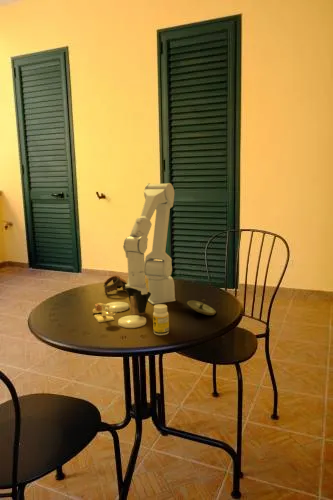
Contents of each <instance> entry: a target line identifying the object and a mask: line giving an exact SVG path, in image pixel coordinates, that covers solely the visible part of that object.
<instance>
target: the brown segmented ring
mask: <svg viewBox="0 0 333 500" xmlns="http://www.w3.org/2000/svg"><path fill="white" fill-rule="evenodd" d="M111 282H112V284H110V283H111ZM109 284H110V285H109ZM126 284H128V283H127V280H125V279H124V278H122V277H120V276H119V275H113V276H110V277H108V278H107V279H106V280H105V281H104V284H103V287H104V293H105V294H106V295H107V294H108V293H111V292H114V291H118V290H119V289H120V290H121V288H122V291H126V290H125V285H126Z"/></svg>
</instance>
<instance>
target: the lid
mask: <svg viewBox="0 0 333 500" xmlns="http://www.w3.org/2000/svg"><path fill="white" fill-rule="evenodd" d="M205 302H206V299H204V298H203V299H201V301H198V300H191V299H190V300H188V301H186V304H187V306H188V307H190V308H191V309H192V310H194V311H196V312H197V313H200V314H203V315H206V316H215V314H216V313H217V312H216V309H214V308H213V307H211V306H210V305H208V304H205Z"/></svg>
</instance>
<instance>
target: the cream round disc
mask: <svg viewBox="0 0 333 500" xmlns="http://www.w3.org/2000/svg"><path fill="white" fill-rule="evenodd" d="M117 321H118V322H117V324H118V326H120V327H121V328H126V329H135V328H141V327H143V326H145V325H146V324H147V318H146V317H145V316H144V315H133V314H131V315H126V316H122V317H120V318H119V319H117Z"/></svg>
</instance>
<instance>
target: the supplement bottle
mask: <svg viewBox="0 0 333 500" xmlns="http://www.w3.org/2000/svg"><path fill="white" fill-rule="evenodd" d="M169 316H170V315H169V312H168V306H167V305H166V304H165V303H159V304H154V306H153V312H152V324H153V325H152V327H153V328H152V329H153V333H154V335H156V336H165V335H168V334H169V332H170V323H169V321H170V317H169Z"/></svg>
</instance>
